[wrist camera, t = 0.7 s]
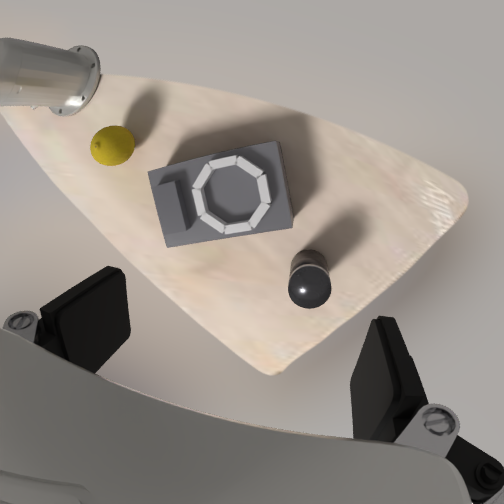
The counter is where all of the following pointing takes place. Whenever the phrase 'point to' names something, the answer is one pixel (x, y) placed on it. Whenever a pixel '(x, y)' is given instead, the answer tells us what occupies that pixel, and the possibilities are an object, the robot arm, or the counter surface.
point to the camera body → (223, 195)
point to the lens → (309, 279)
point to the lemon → (112, 145)
